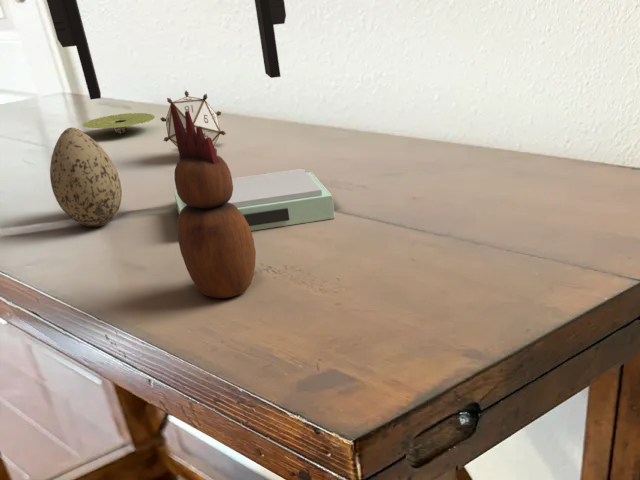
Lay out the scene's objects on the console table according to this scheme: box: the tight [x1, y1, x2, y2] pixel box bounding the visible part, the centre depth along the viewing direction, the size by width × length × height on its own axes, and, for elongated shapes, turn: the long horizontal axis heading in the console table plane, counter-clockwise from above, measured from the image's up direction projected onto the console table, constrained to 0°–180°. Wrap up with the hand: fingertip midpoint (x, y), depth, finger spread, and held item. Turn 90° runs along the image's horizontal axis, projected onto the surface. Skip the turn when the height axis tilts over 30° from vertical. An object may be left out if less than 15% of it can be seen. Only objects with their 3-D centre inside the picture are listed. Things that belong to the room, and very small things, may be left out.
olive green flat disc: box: [82, 112, 155, 135], centre depth 130 cm, size 11×11×2 cm
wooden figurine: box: [169, 103, 257, 299], centre depth 68 cm, size 7×6×15 cm
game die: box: [159, 90, 227, 154], centre depth 112 cm, size 9×8×10 cm
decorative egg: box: [49, 127, 123, 228], centre depth 88 cm, size 7×7×10 cm
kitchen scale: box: [173, 168, 336, 232], centre depth 90 cm, size 16×11×3 cm
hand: (186, 86), depth 63 cm, fingers open, 13 cm apart
